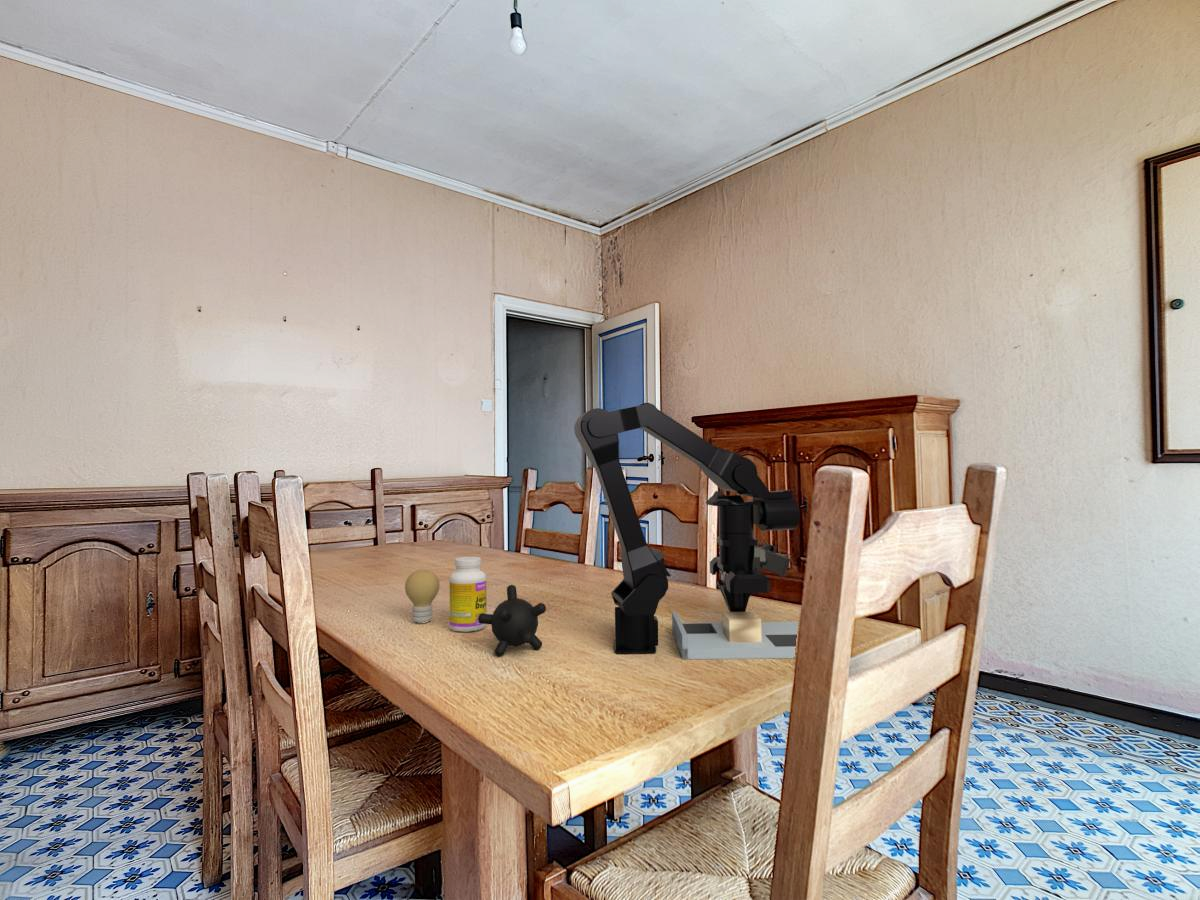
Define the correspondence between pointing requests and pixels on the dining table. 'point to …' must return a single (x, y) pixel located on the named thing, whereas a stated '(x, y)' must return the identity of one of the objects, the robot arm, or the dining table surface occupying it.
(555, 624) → the dining table surface
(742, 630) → the block
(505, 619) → the toy ball
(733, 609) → the robot arm
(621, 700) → the dining table surface
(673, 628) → the board
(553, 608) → the dining table surface
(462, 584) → the supplement bottle
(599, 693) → the dining table surface
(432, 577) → the light bulb
